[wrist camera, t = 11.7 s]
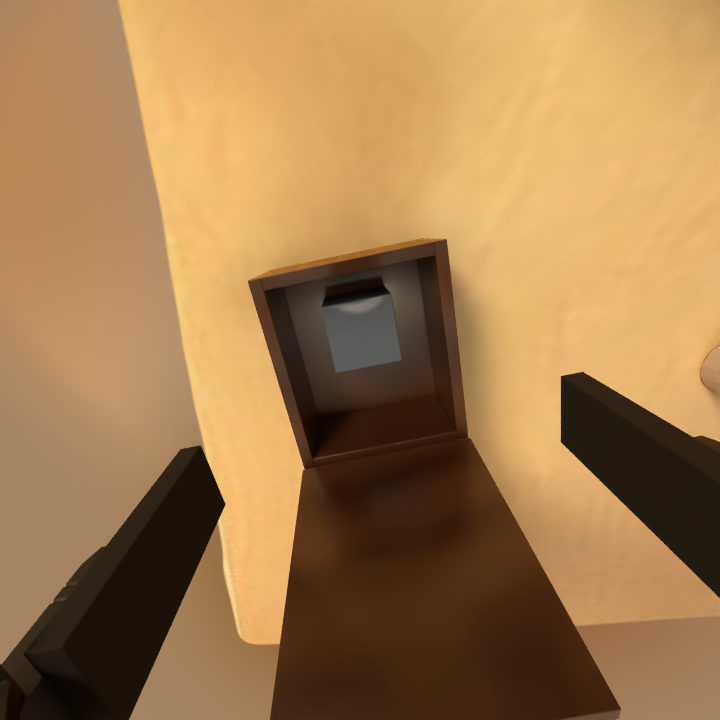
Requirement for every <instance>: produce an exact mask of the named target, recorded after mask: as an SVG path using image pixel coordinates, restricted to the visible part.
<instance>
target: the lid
mask: <svg viewBox="0 0 720 720" xmlns="http://www.w3.org/2000/svg"><path fill="white" fill-rule="evenodd" d="M620 711H621V708H620V706H619V704H618V703H617V701H616V699H615V697H614V695H613V694H612V692H611V690H610V688H609V687H608V685H607V683H606V681H605V680H604V677H603V676H602V674H601V672H600V670H599V669H598V667H597V665H596V663H595V661H594V660H593V658H592V656H591V654H590V652H589V651H588V649H587V647H586V645H585V643H584V642H583V640H582V638H581V636H580V634H579V633H578V631H577V629H576V627H575V625H574V624H573V622H572V620H571V618H570V616H569V615H568V613H567V611H566V609H565V607H564V606H563V604H562V602H561V600H560V598H559V597H558V595H557V593H556V591H555V589H554V588H553V586H552V584H551V582H550V580H549V579H548V577H547V575H546V573H545V572H544V570H543V568H542V566H541V564H540V563H539V561H538V559H537V557H536V555H535V554H534V552H533V550H532V548H531V546H530V545H529V543H528V541H527V539H526V537H525V536H524V534H523V532H522V530H521V528H520V527H519V525H518V523H517V521H516V519H515V518H514V516H513V514H512V512H511V510H510V509H509V507H508V505H507V503H506V501H505V500H504V498H503V496H502V494H501V492H500V491H499V489H498V487H497V485H496V483H495V482H494V480H493V478H492V476H491V475H490V473H489V471H488V469H487V467H486V466H485V464H484V462H483V460H482V458H481V457H480V455H479V453H478V451H477V449H476V448H475V446H474V444H473V442H472V440H471V439H470V438H468V439H463V440H457V441H452V442H447V443H442V444H437V445H431V446H426V447H421V448H416V449H411V450H406V451H400V452H395V453H390V454H385V455H380V456H374V457H369V458H364V459H359V460H354V461H348V462H343V463H338V464H333V465H328V466H322V467H317V468H312V469H307V470H303V474H302V482H301V489H300V497H299V505H298V512H297V520H296V527H295V535H294V542H293V550H292V557H291V565H290V573H289V580H288V588H287V595H286V603H285V610H284V618H283V625H282V633H281V641H280V648H279V656H278V663H277V671H276V679H275V686H274V693H273V701H272V709H271V717H270V720H616V719H619V716H620Z"/></svg>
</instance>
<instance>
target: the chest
mask: <svg viewBox="0 0 720 720" xmlns="http://www.w3.org/2000/svg"><path fill="white" fill-rule="evenodd" d="M248 283H249V287H250V290H251V293H252V297H253V300H254V303H255V307H256V310H257V313H258V316H259V320H260V323H261V326H262V330H263V333H264V336H265V340H266V343H267V346H268V350H269V353H270V356H271V359H272V363H273V366H274V369H275V373H276V376H277V379H278V383H279V386H280V389H281V393H282V396H283V399H284V403H285V406H286V409H287V412H288V416H289V419H290V422H291V426H292V429H293V432H294V436H295V439H296V442H297V446H298V449H299V452H300V455H301V459H302V462H303V465H304V469H305V470H307V469H312V468H317V467H322V466H328V465H333V464H338V463H343V462H348V461H354V460H359V459H364V458H369V457H374V456H380V455H385V454H390V453H395V452H400V451H406V450H411V449H416V448H421V447H426V446H431V445H437V444H442V443H447V442H452V441H457V440H462V439H467V438H468V430H467V421H466V412H465V402H464V393H463V384H462V375H461V366H460V357H459V348H458V338H457V329H456V320H455V311H454V302H453V293H452V284H451V274H450V265H449V256H448V247H447V240H446V239H417V240H413V241H408V242H403V243H398V244H394V245H389V246H384V247H379V248H375V249H370V250H365V251H360V252H356V253H351V254H346V255H341V256H337V257H332V258H327V259H322V260H318V261H313V262H308V263H303V264H298V265H294V266H289V267H284V268H279V269H275V270H271V271H268V272H266V273H264V274H262V275H260V276H257V277H255V278H253V279H251V280H249V281H248ZM383 285H384V286H385V287H386V288H387V289H388V291H389V292H390V293H391V295H392V301H393V307H394V313H395V319H396V326H397V332H398V338H399V344H400V350H401V356H402V360H401V361H396V362H391V363H386V364H381V365H375V366H370V367H365V368H360V369H355V370H350V371H345V372H340V373H336V372H335V367H334V363H333V359H332V355H331V350H330V346H329V342H328V337H327V333H326V329H325V325H324V320H323V316H322V312H321V306H322V303H323V300H324V297H328V296H333V295H338V294H343V293H348V292H353V291H358V290H363V289H368V288H373V287H378V286H383Z"/></svg>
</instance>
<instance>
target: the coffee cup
mask: <svg viewBox="0 0 720 720" xmlns="http://www.w3.org/2000/svg"><path fill="white" fill-rule="evenodd" d="M701 378H702V381H703V383H704V385H705V386H706V387H707V388H709V389H710V390H712V391H714V392H716V393H718V394H720V345H719V346H717V347H716V348H715V349H714V350H712V352H711V353H710V354H709V355H708V356H707V358H706V359H705V361H704V363H703V365H702V369H701Z"/></svg>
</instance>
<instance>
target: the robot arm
mask: <svg viewBox="0 0 720 720" xmlns="http://www.w3.org/2000/svg"><path fill="white" fill-rule="evenodd" d="M561 443H562V444H563V445H564V446H565V447H566V448H568V449H569V450H570V451H571V452H572V453H573V454H574V455H575V456H576V457H577V458H578V459H579V460H580V461H581V462H582V463H583V464H584V465H585V466H586V467H587V468H588V469H589V470H590V471H591V472H592V473H593V474H594V475H595V476H596V477H597V478H598V479H599V480H600V481H601V482H602V483H603V484H604V485H605V486H606V487H607V488H608V489H609V490H610V491H611V492H612V493H613V494H614V495H615V496H616V497H617V498H618V499H619V500H620V501H621V502H622V503H624V504H625V505H626V506H627V507H628V508H629V509H630V510H631V511H632V512H633V513H634V514H635V515H636V516H637V517H638V518H639V519H640V520H641V521H642V522H643V523H644V524H645V525H646V526H647V527H648V528H649V529H650V530H651V531H652V532H653V533H654V534H655V535H656V536H657V537H658V538H659V539H660V540H661V541H662V542H663V543H664V544H665V545H666V546H667V547H668V548H669V549H670V550H671V551H672V552H673V553H674V554H675V555H676V556H677V557H679V558H680V559H681V560H682V561H683V562H684V563H685V564H686V565H687V566H688V567H689V568H690V569H691V570H692V571H693V572H694V573H695V574H696V575H697V576H698V577H699V578H700V579H701V580H702V581H703V582H704V583H705V584H706V585H707V586H708V587H709V588H710V589H711V590H712V591H713V592H714V593H715V594H716V595H717V596H718V597H719V598H720V442H718V441H716V440H713V439H710V438H707V437H704V436H697V437H692V436H690V435H688V434H687V433H685V432H683V431H682V430H680V429H678V428H677V427H675V426H673V425H671V424H670V423H668V422H666V421H665V420H663V419H661V418H660V417H658V416H656V415H655V414H653V413H651V412H650V411H648V410H646V409H645V408H643V407H641V406H639V405H638V404H636V403H634V402H633V401H631V400H629V399H628V398H626V397H624V396H623V395H621V394H619V393H618V392H616V391H614V390H612V389H611V388H609V387H607V386H606V385H604V384H602V383H601V382H599V381H597V380H596V379H594V378H592V377H591V376H589V375H587V374H585V373H584V372H580V373H575V374H570V375H565V376H561ZM224 506H225V502H224V500H223V497H222V495H221V493H220V490H219V488H218V485H217V483H216V481H215V478H214V476H213V473H212V471H211V469H210V466H209V464H208V461H207V459H206V457H205V454H204V452H203V449H202V447H201V446H195V447H190V448H185V449H181V450H180V451H179V452H178V453H177V455H176V456H175V457H174V459H173V460H172V461H171V463H170V464H169V465H168V466H167V468H166V469H165V470H164V472H163V473H162V474H161V476H160V477H159V478H158V479H157V481H156V482H155V483H154V485H153V486H152V487H151V489H150V490H149V491H148V492H147V494H146V495H145V496H144V498H143V499H142V500H141V502H140V503H139V504H138V505H137V507H136V508H135V509H134V511H133V512H132V513H131V515H130V516H129V517H128V518H127V520H126V521H125V522H124V524H123V525H122V526H121V528H120V529H119V530H118V532H117V533H116V534H115V535H114V537H113V538H112V539H111V541H110V542H109V543H108V544H107V546H105V547H101V548H100V549H99V550H98V551H97V552H95V553H94V554H93V555H92V556H91V557H90V558H89V559H87V560H86V561H85V562H84V563H83V564H82V565H81V566H80V567H79V569H78V570H77V571H76V572H75V573H74V575H73V576H72V577H71V578H70V580H69V581H68V582H67V583H66V584H67V585H66V587H64V588H63V589H62V590H61V591H60V592H59V594H58V595H57V596H56V597H55V599H54V602H53V604H50V605H49V606H48V607H47V609H46V610H45V611H44V612H43V613H42V615H41V616H40V617H39V618H38V620H37V621H36V622H35V623H34V625H33V626H32V627H31V628H30V630H29V631H28V632H27V634H26V635H25V636H24V637H23V638H22V640H21V641H20V642H19V643H18V645H17V646H16V647H15V648H14V650H13V651H12V652H11V653H10V655H9V656H8V657H7V658H6V660H5V661H4V662H3V664H2V665H1V664H0V720H129V718H130V716H131V714H132V712H133V709H134V707H135V705H136V703H137V700H138V698H139V696H140V694H141V691H142V689H143V687H144V685H145V683H146V680H147V678H148V676H149V673H150V671H151V669H152V667H153V665H154V662H155V660H156V658H157V656H158V653H159V651H160V649H161V647H162V645H163V642H164V640H165V638H166V636H167V633H168V631H169V629H170V627H171V625H172V622H173V620H174V618H175V615H176V613H177V611H178V609H179V607H180V605H181V602H182V600H183V598H184V595H185V593H186V591H187V589H188V586H189V584H190V582H191V580H192V577H193V576H194V573H195V571H196V569H197V566H198V564H199V562H200V560H201V558H202V555H203V553H204V551H205V549H206V547H207V544H208V542H209V540H210V538H211V535H212V533H213V531H214V529H215V526H216V524H217V522H218V520H219V518H220V515H221V513H222V511H223V509H224Z"/></svg>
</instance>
